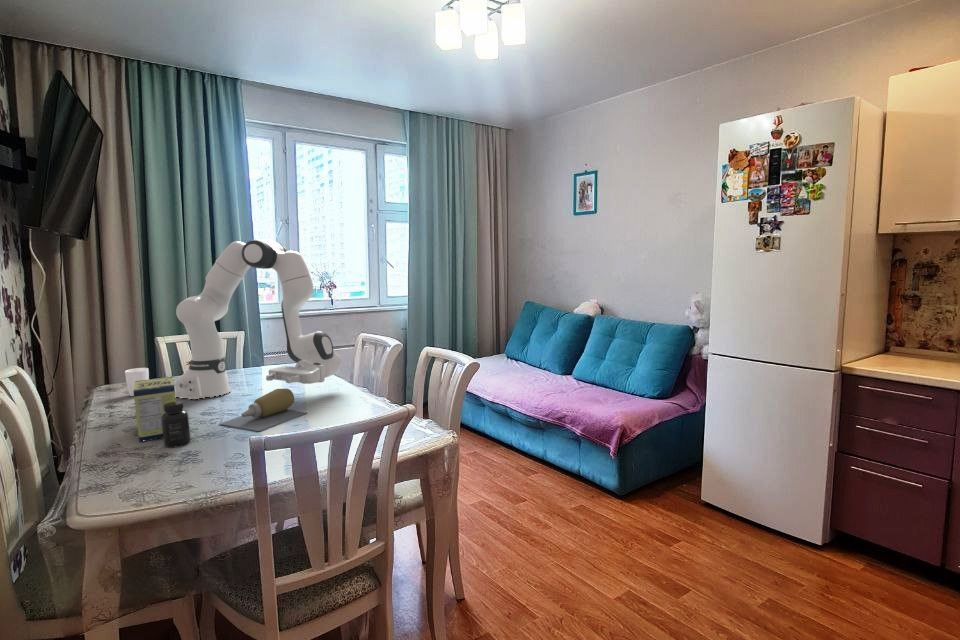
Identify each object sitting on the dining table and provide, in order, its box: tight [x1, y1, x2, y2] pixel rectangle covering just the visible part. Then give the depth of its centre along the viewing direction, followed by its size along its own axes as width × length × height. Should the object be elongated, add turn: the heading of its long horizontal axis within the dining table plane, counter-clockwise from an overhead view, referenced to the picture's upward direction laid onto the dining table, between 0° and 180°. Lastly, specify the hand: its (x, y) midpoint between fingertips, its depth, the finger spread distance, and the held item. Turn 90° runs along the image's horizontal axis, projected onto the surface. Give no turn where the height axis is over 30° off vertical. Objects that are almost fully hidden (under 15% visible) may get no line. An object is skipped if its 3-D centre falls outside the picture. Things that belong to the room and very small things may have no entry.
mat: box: [218, 408, 308, 433], centre depth 173 cm, size 20×18×1 cm
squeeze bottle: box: [241, 388, 295, 418], centre depth 175 cm, size 8×8×18 cm
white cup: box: [124, 367, 150, 395], centre depth 208 cm, size 8×8×10 cm
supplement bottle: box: [161, 400, 192, 448], centre depth 151 cm, size 7×7×12 cm
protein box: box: [133, 376, 177, 442], centre depth 162 cm, size 10×16×16 cm
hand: (277, 379), depth 183 cm, fingers open, 8 cm apart
